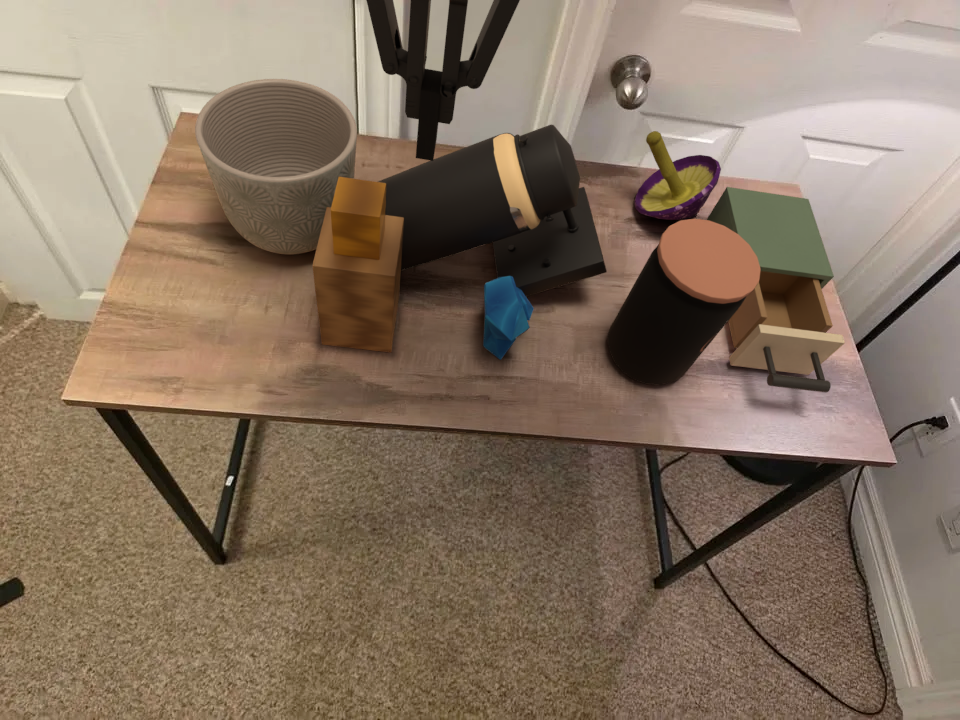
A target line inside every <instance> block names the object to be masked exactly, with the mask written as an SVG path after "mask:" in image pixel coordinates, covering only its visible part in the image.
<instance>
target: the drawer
mask: <svg viewBox="0 0 960 720" xmlns="http://www.w3.org/2000/svg"><path fill="white" fill-rule="evenodd" d="M728 325H729V326H728V327H729V331H730V336H731V340H732V341H731V342H732V346H733V348H734V349H735V350H734V352H732V354H731V355H730V356H729V357H728V359H729V363H730V366H733V367H741V368H742V367H743V368H748V369H749V368H750V369H757V370H764V371H765V370H766V371H767V373H768V375H767V378H766V384H767V386H769V387H776V388H785V389H792V390H800V391H801V390H802V391H808V392H809V391H810V392H818V393H828V392H830V390H831V386H832V385H831V382H830V381H829V380H827V379H826V378H825V377H826V376H825V375H824V371H823V367H822V364H823V363H824V362H825V361H827V360H828V359H829V358H830V357H831V356H832V355H833V354H834V353H836V352H837V351H838V350H839V349H840V348H841V347H842V346H843V345H845V344H846V342H845V338H844V335H843V334H840V333H839V334H838V333H831V332H828V331H830V329H831V328H833V326H834V325H833V322H832V318H831V315H830V312H829V309H828V305H827V303H826V299H825V296H824V293H823V288H822V289H821V286H820V283H819V280H818V279H816V278H808V277H801V276H794V275H786V274H779V273H772V272H764V271H760V278H759V282H758V284H757V285H756V287H755V288H754V290H753V291H752V292H751V293H750V294H749V295H748V296H746V298H745V300H744V301H743V303H742V304H741V306H740V307H739V308H738V310H737V311H736V312H735V313H734V315H733V316H732V317H731V318H730V319H729V321H728ZM777 372H784V373H791V374H800V375H808V376H809V375H810V374H812V373H813V372H814V374H815V376H816V377H815V378H809V377H803V376H793V375H785V374H778V373H777Z"/></svg>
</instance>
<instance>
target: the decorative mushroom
mask: <svg viewBox="0 0 960 720" xmlns="http://www.w3.org/2000/svg"><path fill="white" fill-rule="evenodd" d="M645 142H646V144H647V145H648V147H649V150H650V151H651V154H652V156H653V159H654V161H655V163H656V165H657V167H658V170H656V171H654V172H653V173H652V174H651V175H650V176H649V177H648V178H647V179H645V180H644V181H643V182H642V184H641V185H640V187H639V188H638V190H637V192H636V194H635V197H634V202H633V203H634V208H635V210H636V211H638V213H640V214H641V215H644V216H648V217H652V218H655V219H660V220H668V221H669V220H670V221H674V220H676V221H677V220H678V221H680V220H688V219H696V217H697V215H698V213H700V211H701V209H702V208H703V207H704V206H705V204H706V202H707V201H708V199H709V197H710V196H711V193H712V192H713V190H714V189H715V187H716V186H717V185H718V183H719V180H720V179H719V178H720V174H721V171H722V167H721V165H720V162H719V161H718V159H715V158H714V157H713V156H710V155H703V154H695V155H688V156H686V157H682V158H679V159H676V160H674V161H673V160H672V157H671V156H670V153H669V151H668V149H667V146H666V144H665V141H664V138H663V136H662V134H661V132H659V131H657V130H654V131H651V132H649V133H648V134H647V135H646V138H645Z"/></svg>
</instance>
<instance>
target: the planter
mask: <svg viewBox="0 0 960 720" xmlns="http://www.w3.org/2000/svg"><path fill="white" fill-rule="evenodd" d="M194 134H195V139H196V143H197V146H198V148H199V151H200V153H201V156H202V159H203V161H204V164H205V166H206V169H207V172H208V174H209V177H210V180H211V182H212V185H213V187H214V191H215V193H216V196H217V198H218V201H219V203H220V204H219V205H220V206H221V209H222V211H223V213H224V216H225V217H226V218H227V220H228V222H229V223H230V224H231V226H232V227H233V229H234V230H235V231H236V232H237V233H238V234H239V235H240V236H241V237H242V239H245V240H246V241H247V242H248V243H250V244H251V245H253V246H255V247H256V248H259V249H261V250H264V251H267V252H270V253H273V254H281V255H299V254H306V253H309V252H313V251H316V249H317V245H318V241H319V237H320V232H321V228H322V224H323V220H324V216H325V212H326V208H327V207H331V206H332V202H333V198H334V193H335V189H336V185H337V181H338V177H346V178H353V179H355V173H356V172H355V170H356V155H357V154H356V153H357V142H358V141H357V140H358V128H357V122H356V120H355V118H354V115H353V113H352V111H351V110H350V109H349V108H348V106H347V105H346V104H345V103H344V102H343V101H342V100H341V99H339V98H338V97H337V96H336V95H335V94H333V93H331V92H330V91H327V90H326V89H323V88H322V87H319V86H316V85H314V84H311V83H308V82H303V81H299V80H294V79H288V78H286V79H285V78H263V79H255V80H250V81H244V82H241V83H238V84H235V85H232V86H231V87H228V88H226V89H224V90H221V91H220V92H218V93H217V94H215V95H214V96H213V97H212V98H210V99H209V100H208V101H207V102H206V103H205V105H204V106H203V107H202V108H201V110H200V111H199V113H198V115H197V117H196V121H195V125H194Z"/></svg>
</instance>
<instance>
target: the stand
mask: <svg viewBox="0 0 960 720" xmlns="http://www.w3.org/2000/svg"><path fill="white" fill-rule="evenodd" d="M330 210H331V207H327V208H326V212H325V216H324V220H323V224H322V228H321V232H320V237H319V241H318V245H317V249H316V250H315V254H314V258H313V261H312V273H313V283H314V290H315V299H316V308H317V316H318V317H317V318H318V324H319V333H320V341H321V345H323V346H331V347H339V348H347V349H348V348H350V349H358V350H366V351H373V352H374V351H375V352H383V353H384V352H385V353H392V351H393V344H394V343H393V342H394V336H395V330H396V321H397V316H398V309H399V302H400V291H401V289H400V288H401V272H402V271H401V259H402V242H403V226H404V218H403V217H396V216H389V215H385V231H384V236H383V242H382V248H381V254H380V259H379V260H376V259H368V258H360V257H353V256H345V255H337V254H334V251H333V238H332V224H331V211H330Z"/></svg>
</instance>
